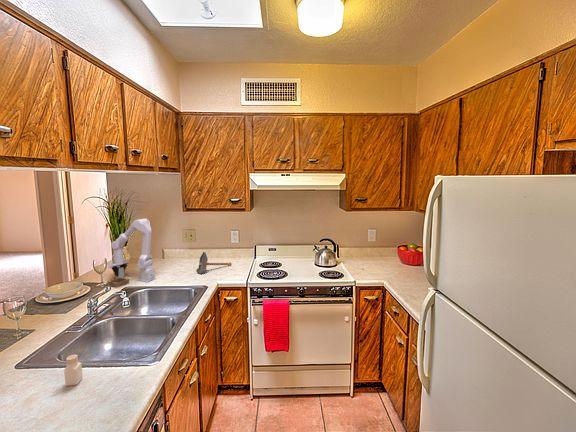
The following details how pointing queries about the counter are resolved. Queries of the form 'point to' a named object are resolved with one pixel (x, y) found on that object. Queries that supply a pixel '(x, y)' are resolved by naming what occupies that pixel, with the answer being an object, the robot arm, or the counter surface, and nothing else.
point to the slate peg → (120, 272)
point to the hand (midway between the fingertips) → (119, 275)
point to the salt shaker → (73, 371)
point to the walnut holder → (118, 282)
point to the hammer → (204, 264)
